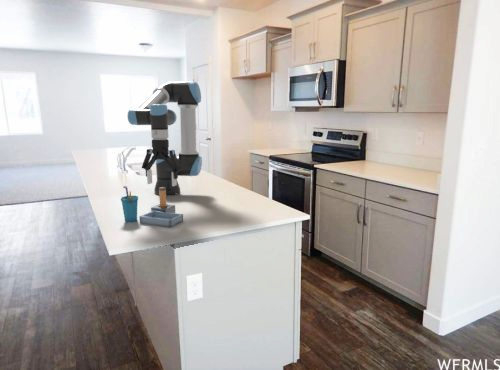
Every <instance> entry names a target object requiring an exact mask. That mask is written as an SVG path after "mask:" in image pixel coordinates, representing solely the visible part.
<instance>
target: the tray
mask: <svg viewBox="0 0 500 370" xmlns="http://www.w3.org/2000/svg"><path fill="white" fill-rule="evenodd" d="M138 217H139V223H140V224H144V225H145V224H146V225H151V224H152V225H151V226H158V225H159V226H158V227H167V228H172V227H174V226H177V224H180V223H181V222H184V214H183V213H176V212H175V213H169V212H161V211H151V210H150V212H147V213H143V214H141V215H139V216H138Z"/></svg>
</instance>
